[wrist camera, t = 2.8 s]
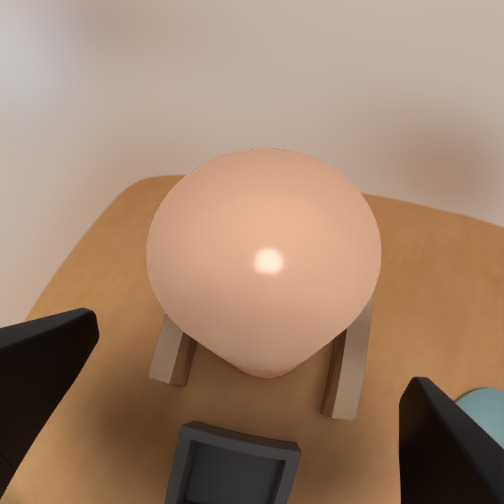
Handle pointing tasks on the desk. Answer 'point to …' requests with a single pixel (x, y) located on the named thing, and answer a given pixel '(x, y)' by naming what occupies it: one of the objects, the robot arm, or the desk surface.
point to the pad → (486, 411)
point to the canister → (263, 257)
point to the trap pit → (230, 467)
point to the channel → (340, 375)
